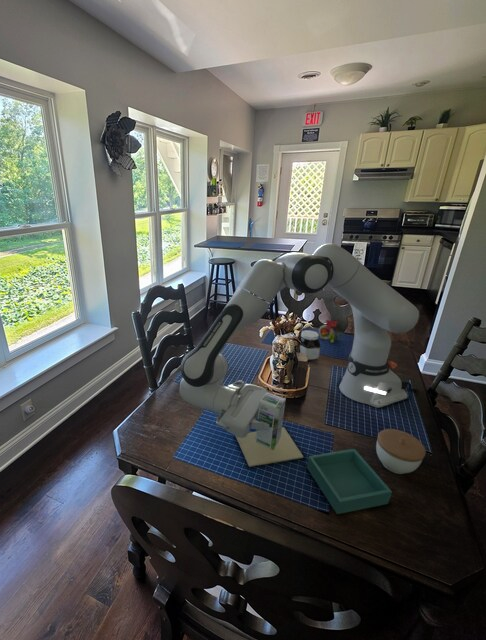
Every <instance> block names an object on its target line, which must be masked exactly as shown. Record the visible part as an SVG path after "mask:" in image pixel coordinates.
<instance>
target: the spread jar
mask: <svg viewBox="0 0 486 640" xmlns="http://www.w3.org/2000/svg"><path fill="white" fill-rule="evenodd" d="M300 336H301V344H300V353H304V354H306V356H307V358H308V361H307V362H313V361H316V360H318V358H319V356H320V353H321V342H320V340H319V336H320V335H319V332H317V331H314V330H310V329H309V330H302V331H301V335H300Z"/></svg>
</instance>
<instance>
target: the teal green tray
mask: <svg viewBox="0 0 486 640" xmlns="http://www.w3.org/2000/svg"><path fill="white" fill-rule="evenodd" d="M306 469H307V471H308V472H309V474H310V475H311V477H312V478H313V480H314V481H315V483H316V484H317V486H318V487H319V488H320V491H321V492H322V494H323V495H324V497H325V499H327V501H328V503H329V504H330V506H331V507H332V509H333V511H334V512H335V514H336V515H340V514H345V513H350V512H355V511H360V510H364V509H370V508H374V507H379V506H385V505H388V504H389V503H390V500H391V497H392V494H393V491H392V490H391V488H389V486H388V485H387V484H386V483H385V482H384V481H383V479H381V477H380V476H379V475H378V474H377V472H375V470H374V469H373V468H372V467H371V466H370V464H368V462H367V461H366V460H365V459H364V458H363V457H362V456H361V454H360V453H359V452H358V451H357V450H356V449H355V448H350V449H345V450H344V449H343V450H338V451H332V452H327V453H321V454H315V455H309V456H308V458H307V464H306Z"/></svg>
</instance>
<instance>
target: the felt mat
mask: <svg viewBox="0 0 486 640" xmlns="http://www.w3.org/2000/svg"><path fill="white" fill-rule="evenodd" d="M256 433H257V430H256V431H249V432H248V434H247V436H246V437H244V438H240V437H237V436H235V438H236V441H237V443H238V445H239V447H240V450H241V452H242V454H243V456H244V459H245V461H246V463H247V465H248V467H249V468H252V467H256V466H264V465H269V464H275V463H276V464H277V463H282V462H288V461H292V460H293V461H294V460H298V459H303V458H304V455H303V454H302V452H301V450H300V448H299V447H298V446H297V444H296V443H295V442H294V440H293V438H292V437H291V435H290V434H289V433H288V431H287V430H286V427H284V426H282V431H281V438H280V440H279V442H278V443H277V445H276V447H275V449H274V450H272V449H270V448H268V447H266V446H263V445H261V444H259V443H256Z"/></svg>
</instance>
